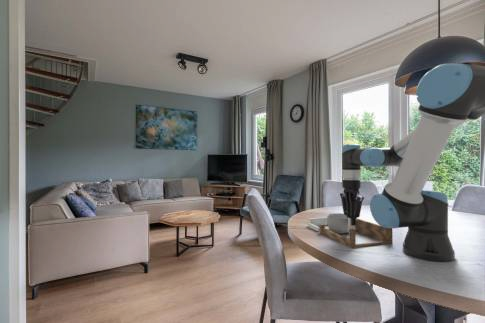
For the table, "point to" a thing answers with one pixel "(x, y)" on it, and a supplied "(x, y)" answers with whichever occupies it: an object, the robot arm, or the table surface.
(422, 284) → the table surface
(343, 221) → the teacup
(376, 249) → the table surface
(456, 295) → the table surface
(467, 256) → the table surface
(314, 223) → the holder
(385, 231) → the wooden frame
